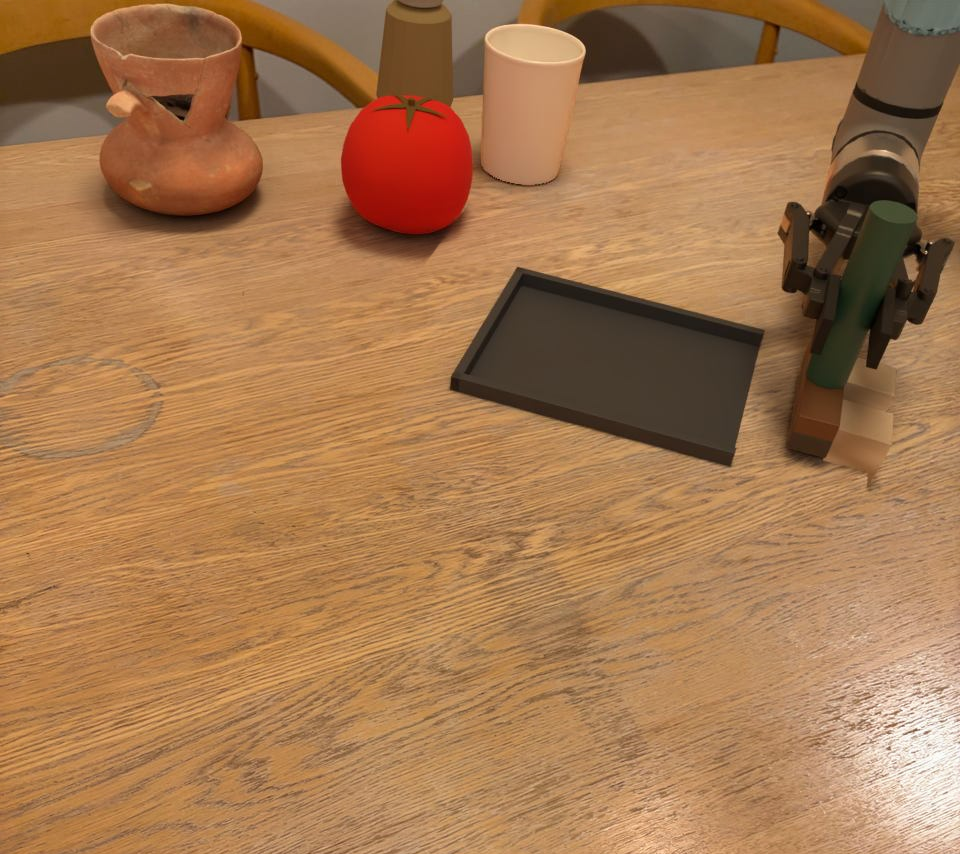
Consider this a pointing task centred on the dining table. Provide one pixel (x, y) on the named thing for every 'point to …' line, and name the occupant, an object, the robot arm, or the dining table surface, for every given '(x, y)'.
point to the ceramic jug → (174, 109)
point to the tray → (614, 364)
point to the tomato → (407, 164)
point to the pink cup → (528, 101)
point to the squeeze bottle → (417, 51)
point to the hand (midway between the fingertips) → (850, 343)
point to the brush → (848, 326)
